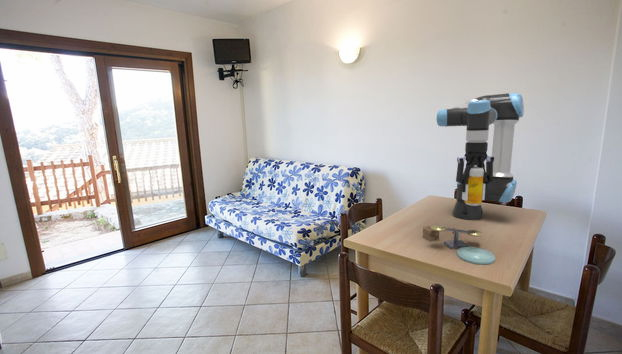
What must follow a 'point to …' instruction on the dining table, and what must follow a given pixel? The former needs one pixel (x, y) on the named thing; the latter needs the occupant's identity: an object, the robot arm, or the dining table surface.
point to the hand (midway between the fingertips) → (473, 199)
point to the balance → (456, 236)
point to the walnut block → (430, 234)
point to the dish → (476, 255)
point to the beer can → (475, 186)
